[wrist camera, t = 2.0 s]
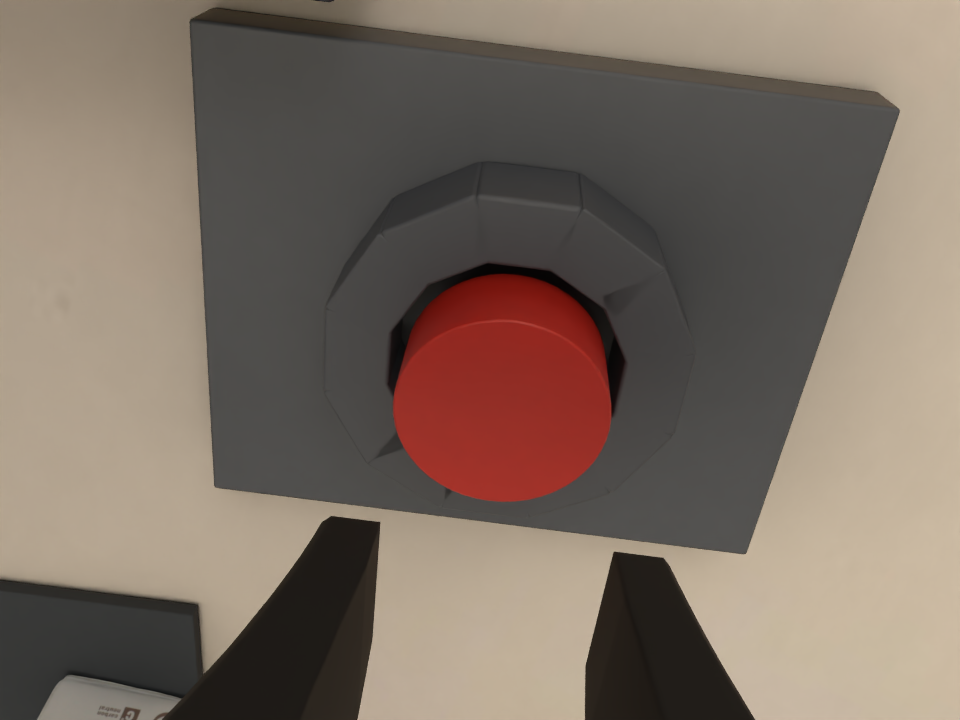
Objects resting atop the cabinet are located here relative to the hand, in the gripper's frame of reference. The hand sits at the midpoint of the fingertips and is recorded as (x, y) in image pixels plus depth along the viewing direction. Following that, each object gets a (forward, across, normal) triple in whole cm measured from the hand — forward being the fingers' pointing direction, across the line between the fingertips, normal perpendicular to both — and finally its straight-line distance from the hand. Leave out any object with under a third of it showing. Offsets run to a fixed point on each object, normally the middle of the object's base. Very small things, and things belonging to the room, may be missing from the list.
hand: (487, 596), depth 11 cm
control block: (+8, 0, 0) cm, 8 cm away
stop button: (+6, 0, 0) cm, 6 cm away
